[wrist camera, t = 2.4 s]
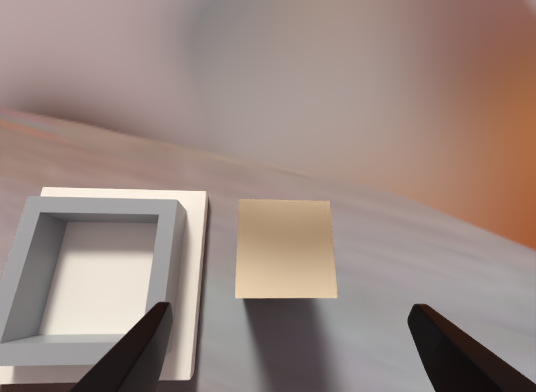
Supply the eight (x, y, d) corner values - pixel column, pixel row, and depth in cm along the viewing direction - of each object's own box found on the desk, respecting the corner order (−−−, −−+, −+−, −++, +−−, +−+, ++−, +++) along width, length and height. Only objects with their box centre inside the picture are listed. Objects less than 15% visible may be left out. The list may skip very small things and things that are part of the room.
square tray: (193, 373, 16) (179, 397, 13) (1, 377, 16) (-70, 404, 12) (208, 196, 20) (200, 178, 17) (55, 192, 20) (13, 173, 16)
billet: (296, 292, 19) (337, 298, 10) (241, 291, 18) (235, 298, 10) (294, 236, 20) (329, 200, 11) (243, 236, 20) (238, 198, 11)
